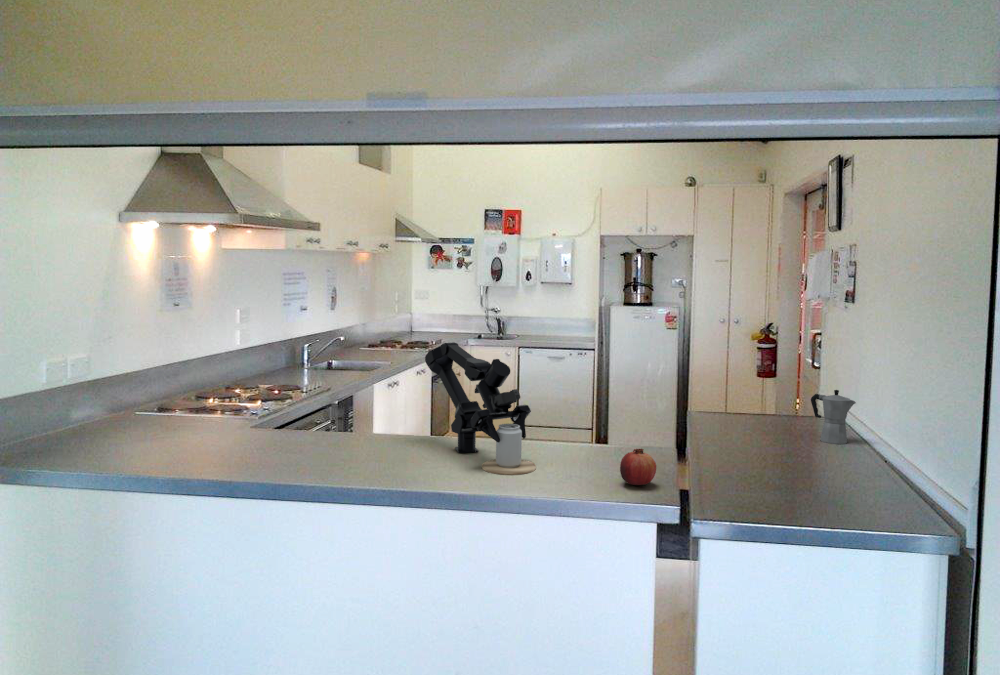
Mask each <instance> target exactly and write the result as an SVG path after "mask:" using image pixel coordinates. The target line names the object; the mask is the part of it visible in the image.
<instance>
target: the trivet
mask: <svg viewBox="0 0 1000 675" xmlns="http://www.w3.org/2000/svg"><path fill="white" fill-rule="evenodd" d="M481 469H482V470H484V471H485V472H487V473H491V474H494V475H495V474H496V475H500V476H501V475H503V476H504V475H505V476H517V475H519V476H520V475H527V474H531V473H533V472H534V471H535V472H536V469H537V465H536V464H535V463H534V462H532V461H529V460H526V459H521V464H520V465H519V466H518V467H514V468H504V467H500V466H499V465H498V464H497V463H496V458H495V459H490V460H489V459H488V460H487V461H484V462H483V463H482V464H481Z"/></svg>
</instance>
